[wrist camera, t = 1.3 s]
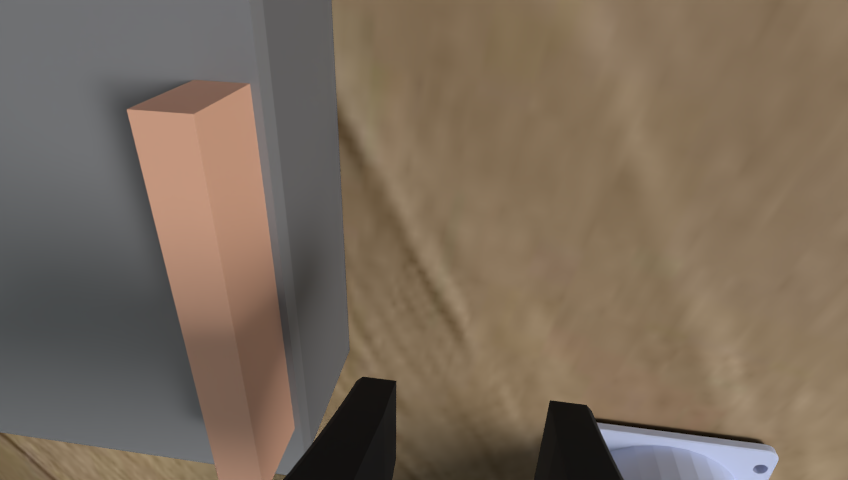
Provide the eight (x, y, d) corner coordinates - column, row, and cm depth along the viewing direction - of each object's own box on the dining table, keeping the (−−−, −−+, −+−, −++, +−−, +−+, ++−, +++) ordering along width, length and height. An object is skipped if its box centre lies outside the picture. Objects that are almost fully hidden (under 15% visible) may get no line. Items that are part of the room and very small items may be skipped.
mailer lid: (313, 461, 17) (281, 546, 15) (-30, 411, 19) (-111, 482, 16) (258, -41, 10) (178, -35, 8) (-290, -62, 12) (-503, -62, 9)
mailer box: (349, 350, 22) (309, 451, 17) (78, 317, 23) (-22, 404, 19) (329, -38, 15) (254, -30, 10) (-57, -54, 16) (-265, -51, 12)
